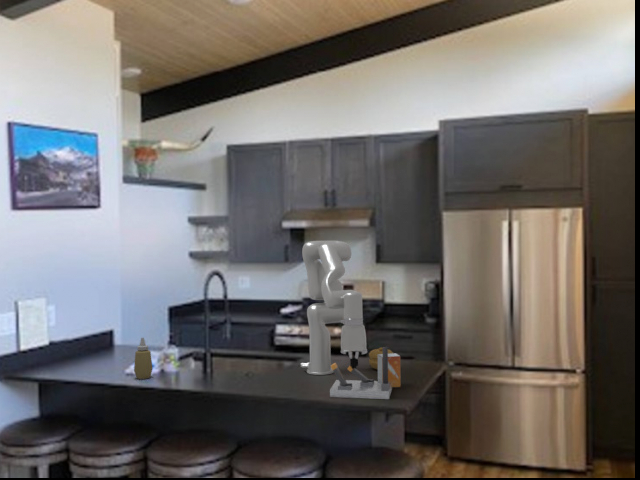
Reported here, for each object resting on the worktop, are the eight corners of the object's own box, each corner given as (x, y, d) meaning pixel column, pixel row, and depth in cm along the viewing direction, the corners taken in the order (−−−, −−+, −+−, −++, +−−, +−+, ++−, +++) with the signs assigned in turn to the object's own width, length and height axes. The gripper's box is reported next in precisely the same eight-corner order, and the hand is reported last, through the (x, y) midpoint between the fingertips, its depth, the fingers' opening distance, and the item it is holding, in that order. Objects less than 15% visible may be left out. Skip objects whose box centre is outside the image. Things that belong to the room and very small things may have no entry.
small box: (382, 388, 269) (381, 356, 269) (377, 384, 275) (377, 353, 275) (401, 387, 271) (400, 355, 270) (395, 383, 277) (395, 352, 277)
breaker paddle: (364, 383, 263) (347, 369, 264) (365, 381, 266) (348, 367, 267) (367, 380, 263) (349, 365, 264) (368, 378, 266) (350, 364, 267)
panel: (330, 397, 257) (329, 386, 257) (336, 387, 272) (336, 377, 272) (389, 399, 252) (388, 388, 252) (392, 388, 268) (391, 378, 268)
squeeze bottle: (156, 376, 296) (155, 336, 296) (144, 380, 289) (143, 340, 289) (142, 375, 300) (141, 335, 299) (130, 379, 292) (129, 338, 292)
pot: (366, 371, 301) (366, 349, 300) (371, 365, 312) (370, 344, 312) (392, 372, 298) (392, 350, 298) (395, 366, 309) (395, 345, 309)
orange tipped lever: (342, 386, 258) (330, 366, 258) (343, 384, 261) (331, 364, 261) (345, 384, 257) (334, 364, 258) (347, 382, 260) (335, 362, 261)
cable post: (381, 390, 254) (380, 348, 254) (382, 388, 257) (381, 346, 257) (389, 390, 254) (388, 348, 253) (389, 388, 257) (389, 346, 257)
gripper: (333, 323, 262) (334, 369, 262) (370, 323, 260) (371, 370, 260) (336, 321, 270) (337, 365, 270) (372, 321, 267) (373, 366, 267)
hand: (354, 367), depth 265 cm, fingers closed
